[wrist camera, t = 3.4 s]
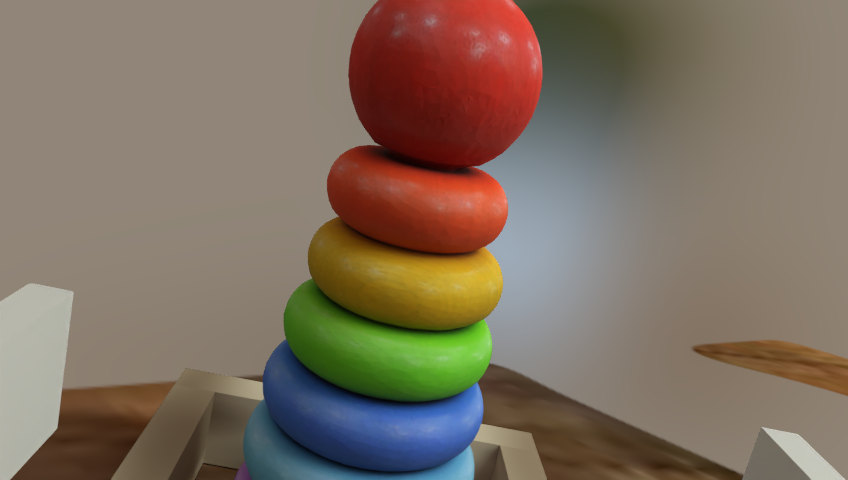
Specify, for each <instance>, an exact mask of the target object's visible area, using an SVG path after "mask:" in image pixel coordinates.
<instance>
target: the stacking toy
mask: <svg viewBox="0 0 848 480" xmlns="http://www.w3.org/2000/svg"><path fill="white" fill-rule="evenodd" d="M348 75H349V86H350V92H351V97H352V101H353V104H354V107H355V110H356V112H357V115H358V117H359V120H360V121H361V123H362V125H363V126H364V128H365V129H366V131H367V132H368V133H369V135H370V136H371V137H372V139H373V140H374V142H375V143H377V144H379V145H381V146H375V145H367V146H358V147H355V148H353V149H350V150H348V151H346V152H345V153H344V154H342V155H340V156H339V158H338V159H337V160H336V161H335V162H334V164H333V165H332V167H331V170H330V173H329V175H328V179H327V192H328V197H329V201H330V203H331V206H332V209H333V210H334V211H335V213H336V214H337V215H338V216H339V217H336V218H335V219H332V220H330V221H329V222H326V223H325V224H324V225H323V226H322V227H320V228H319V230H318V231H317V232H316V234H315V235H314V237H313V239H312V241H311V244H310V246H309V250H308V265H309V270H310V274H311V276H312V279H310V280H308V281H306V282H304V283H303V284H302V285H301V286H299V287H298V288H297V289H296V291H295V292H294V293H293V294H292V295H291V297H290V299H289V301H288V303H287V306H286V309H285V312H284V331H285V336H286V340H284V341H283V342H282V343H281V344H280V345H279V346H278V347H277V348H276V349H275V350H274V351H273V353H272V355H271V357H270V358H269V360H268V361H267V364H266V367H265V370H264V374H263V395H264V399H263V400H262V401H261V402H260V403H259V404H258V405H257V406H256V408H255V409H254V411H253V412H252V414H251V416H250V418H249V420H248V423H247V426H246V429H245V433H244V440H243V451H244V459H245V461H244V462H243V464H242V465H241V467H240V468H239V470H238V472H237V474H236V476H235V478H234V480H473V479H474V466H475V465H474V458H473V452H472V449H471V447H470V444H471V442H472V441H473V440H474V438H475V437H476V435H477V433H478V431H479V429H480V426H481V422H482V417H483V400H482V394H481V391H480V388H479V385H478V384H477V382H478V380H479V379H480V378H481V377H482V375H483V374H484V372H485V371H486V369H487V367H488V364H489V362H490V359H491V354H492V339H491V334H490V331H489V328H488V326H487V324H486V322H485V321H484V318H486V317H487V316H488V315H489V314H490V313H491V312H492V311H493V310H494V308H495V307H496V305H497V304H498V301H499V299H500V297H501V293H502V289H503V278H502V273H501V269H500V266H499V264H498V262H497V261H496V259H495V258H494V256H493V255H492V254H491V253H490V252H489V251H488V250H487V249H486V248H485V246H487V245H488V244H490V243H491V242H493V241H494V240H495V239H496V238H497V236H498V235H499V234H500V232H501V231H502V229H503V227H504V225H505V223H506V219H507V215H508V203H507V198H506V195H505V192H504V190H503V188H502V187H501V186H500V184H499V183H498V182H497V181H496V180H495V179H494V178H493V177H491V176H490V175H489V174H487V173H485V172H484V171H482V170H479V169H477V168H474V167H472V166H480V165H482V164H484V163H486V162H488V161H490V160H492V159H494V158H495V157H497V156H498V155H500V154H502V153H503V152H504V151H505V150H506V149H507V148H508V147H509V146H510V145H511V144H512V143H513V142H514V141H515V140H516V139H517V138H518V137H519V136H520V134H521V133H522V132H523V130H524V129H525V127H526V126H527V124H528V123H529V120H530V119H531V118H532V115H533V113H534V110H535V108H536V105H537V102H538V99H539V95H540V90H541V85H542V57H541V53H540V47H539V43H538V40H537V38H536V35H535V32H534V30H533V28H532V26H531V24H530V23H529V21H528V19H527V18H526V16H525V15H524V14H523V12H522V11H521V10H520V9H519V8H518V6H517V5H516V4H515V3H514V2H513V1H512V0H379V1H378V2H377V3H376V4H375V5H374V6H373V7H372V8H371V9H370V11H369V12H368V13H367V14H366V16H365V18H364V19H363V21H362V23H361V25H360V27H359V29H358V31H357V33H356V36H355V39H354V42H353V45H352V48H351V54H350V61H349V74H348Z"/></svg>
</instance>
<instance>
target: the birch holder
mask: <svg viewBox="0 0 848 480" xmlns="http://www.w3.org/2000/svg"><path fill="white" fill-rule="evenodd" d="M263 399H264V395H263V383H262V382H257V381H252V380H246V379H241V378H236V377H230V376H225V375H220V374H215V373H209V372H203V371H199V370H193V369H188V368H185V370H184V371H183V373H182V374H181V376H180V377H179V379H178V380H177V382H176V383H175V385H174V386H173V388H172V389H171V391H170V392H169V394H168V395H167V397H166V398H165V400H164V401H163V403H162V404H161V406H160V407H159V408H158V410H157V411H156V413H155V414H154V416H153V417H152V419H151V420H150V422H149V423H148V425H147V426H146V428H145V429H144V431H143V432H142V434H141V435H140V437H139V438H138V440H137V441H136V443H135V444H134V446H133V447H132V449H131V450H130V452H129V453H128V455H127V456H126V458H125V459H124V461H123V462H122V463H121V465H120V466H119V468H118V469H117V471H116V472H115V474H114V475H113V477H112V478H111V480H195V478H196V476H197V474H198V472H199V470H200V468H201V466H202V464H203V463H207V464H212V465H218V466H224V467H229V468H235V469H239V468H240V467H241V465H242V464H243V462H244V461H245V459H244V451H243V440H244V433H245V429H246V426H247V423H248V420H249V418H250V416H251V414H252V412H253V411H254V409H255V408H256V406H257V405H258V404H259V403H260V402H261V401H262V400H263ZM470 447H471V449H472V452H473V458H474V465H475V466H474V479H473V480H547V478H546V475H545V472H544V469H543V467H542V464H541V461H540V458H539V455H538V452H537V449H536V446H535V443H534V441H533V438H532V435H531V433H527V432H522V431H516V430H511V429H506V428H500V427H495V426H490V425H485V424H481V426H480V429H479V431H478V433H477V435H476V437H475V438H474V440H473V441H472V442H471V444H470Z"/></svg>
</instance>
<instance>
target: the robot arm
mask: <svg viewBox="0 0 848 480" xmlns="http://www.w3.org/2000/svg"><path fill="white" fill-rule="evenodd" d="M72 300H73V291H68V290H63V289H58V288H53V287H48V286H43V285H38V284H32V283H30V284H28V285H26V286H25V287H23V288H21V289H20V290H18V291H17V292H15V293H13V294H12V295H10V296H9V297H7V298H5V299H4V300H2V301H1V302H0V480H10V479H11V478H12V477H13V476H14V475H15V474H16V473H17V472H18V471H19V470H20V468H21V467H22V466H23V465H24V464H25V463H26V462H27V461H28V460H29V459H30V458H31V457H32V455H33V454H34V453H35V452H36V451H37V450H38V449H39V448H40V447H41V446H42V445H43V443H44V442H45V441H46V440H47V439H48V438H49V437H50V436H51V435H52V434H53V433H54V431H55V430H56V429H57V427H58V418H59V410H60V401H61V393H62V385H63V376H64V368H65V359H66V351H67V343H68V334H69V325H70V317H71V309H72ZM742 480H845V479H844V478H843V477H842V476H841V475H840V474H839V473H838V472H837V471H836V470H835V469H834V468H833V467H831V466H830V464H829V463H827V462H826V461H825V460H824V459H823V458H822V457H821V456H820V455H819V454H818V453H817V452H816V451H815V450H814V449H813V448H812V447H811V446H810V445H809V444H808V443H807V442H806V441H805V440H804V439H803V438H802V437H801V436H800V435H798V434H794V433H789V432H784V431H778V430H774V429H768V428H763V427H761V430H760V432H759V435H758V438H757V441H756V443H755V446H754V449H753V452H752V455H751V457H750V460H749V463H748V466H747V468H746V471H745V474H744V477H743V479H742Z"/></svg>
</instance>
